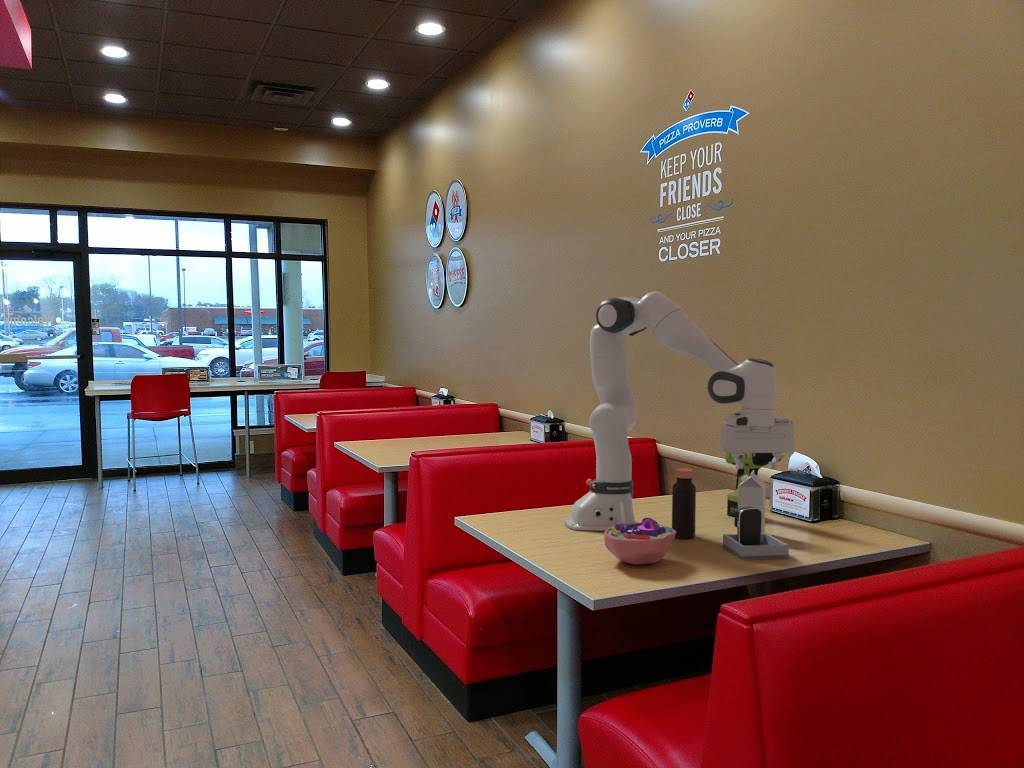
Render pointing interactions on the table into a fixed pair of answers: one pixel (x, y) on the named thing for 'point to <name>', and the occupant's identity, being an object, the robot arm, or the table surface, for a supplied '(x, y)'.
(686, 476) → the bottle
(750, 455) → the cordless drill
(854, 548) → the table surface
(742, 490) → the milk carton
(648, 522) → the cell model
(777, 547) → the tray
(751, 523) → the battery charger
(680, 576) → the table surface
